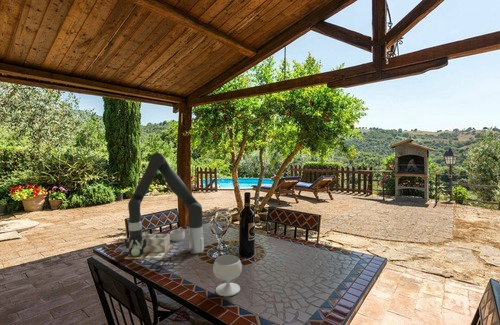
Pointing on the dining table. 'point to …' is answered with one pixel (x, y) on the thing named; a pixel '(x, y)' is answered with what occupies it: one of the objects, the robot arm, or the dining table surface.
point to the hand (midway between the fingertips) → (136, 254)
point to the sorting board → (154, 247)
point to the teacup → (177, 235)
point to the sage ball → (135, 251)
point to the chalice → (227, 274)
